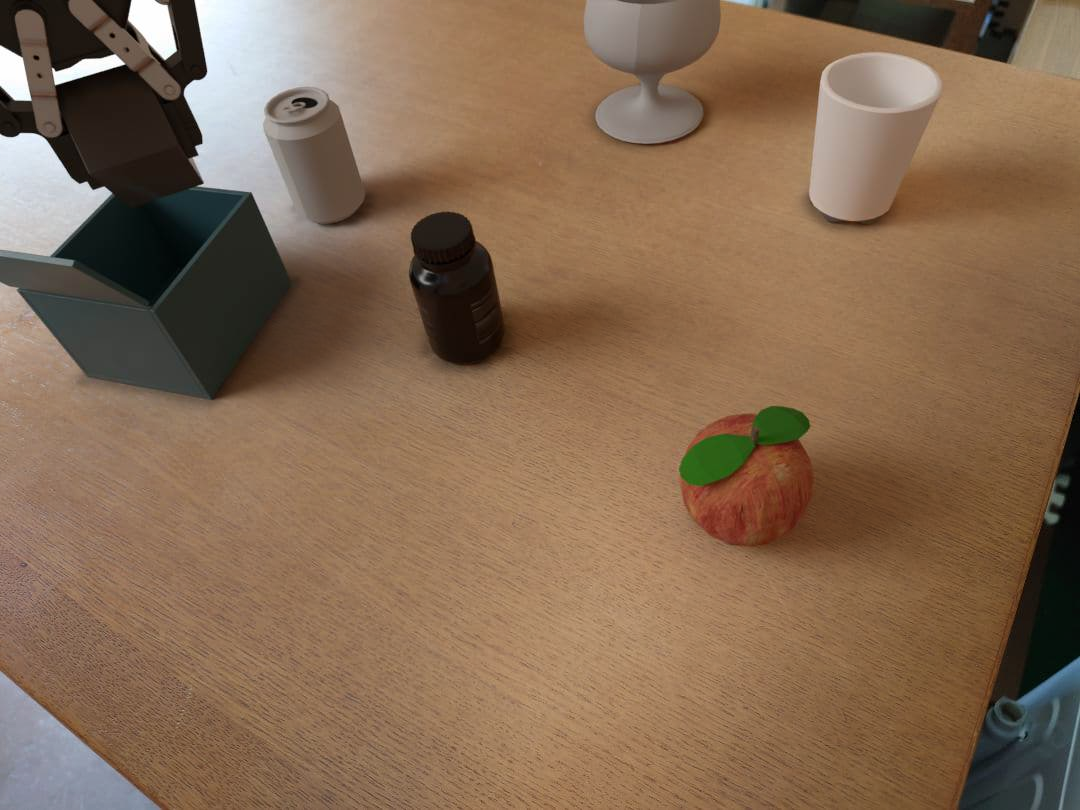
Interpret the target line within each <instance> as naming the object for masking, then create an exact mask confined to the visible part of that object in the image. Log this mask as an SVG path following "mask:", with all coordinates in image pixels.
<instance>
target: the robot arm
mask: <svg viewBox="0 0 1080 810" xmlns="http://www.w3.org/2000/svg"><path fill="white" fill-rule="evenodd" d="M154 1H155V2H156V3H157V4H159V5H162V6H167V11H168V16H169V20H170V26H171V30H172V36H173V40H174V45H175V49H176V50H175V52H173V53H172V54H171V55H170V56H168V57H167V58H166V59H165V58H164V57H163V56H162V55H161V54H160V53H159V52H158V51H157V50H156V49H155V48H154V47H153V46H152V45H151V44H150V43H149V41H148V40H147V39H146V38H145V36H144V35H143V34H142V33H141V32H140V31H139V29H138V28H137V27H135V25H134V24H133V23H132V22H131V21H130V20H129V17H130V12H131V6H132V2H133V1H132V0H0V47H2V48H4V49H5V50H7V51H9V52H11V53H13V54H14V55H17V56H18V57H20V58H21V59H22V61H23V67H24V71H25V77H26V81H27V87H28V91H29V96H30V100H24V99H23V100H20V99H19V100H17V99H14V98H13V97H12V96H11V95H10V94H9V93H8V92H7V91H6V90H5V88H3V87H2V86H1V85H0V135H1V136H3V137H6V138H16V137H19V135H20V134H34V135H38V136H40V137H42V138H43V139H44V140H45V141H46V142H47V143H48V145H49V146H50V148H51V149H52V151H53V152H54V154H55V155H56V158H58V160H59V161H60V163H61V165H62V167H64V169H65V170H66V172H67V174H68V176H69V177H70V178H71V179H72V180H73V181H74V182H76V183H77V184H79V185H81V184H84V183H87V184H88V186H89V187H90V188H91V190H92V191H96V190H98V189H102V188H105V187H104V186H103V185H102V184H101V183H100V182H98V181H97V180H96V179H95V178H94V177H92V176H91V175H90V174H89V173H88V171H87V169H86V166H85V164H84V162H83V160H82V158H81V156H80V154H79V152H78V150H77V147H76V145H75V143H74V141H73V139H72V137H71V135H70V133H69V131H68V128H67V126H66V124H65V122H64V120H63V118H62V116H61V114H60V111H59V105H58V99H57V93H56V88H55V85H56V83H55V78H54V72H55V73H57V72H60V71H64V70H68V69H70V68H72V67H74V66H75V65H78V63H80V62H82V61H83V60H98V59H99V60H101V59H104V58H105V59H106V58H107V57H111V56H115V55H116V57H117V58H118V59H119V60H120V61H122V63H123V64H126V65H127V66H128V67H129V68H130V69H131V70H132V71H133V72H135V73H137V74H139V75H140V76H141V77H142V78H143V79H144V80H145V81H146V82H147V83H148V84H149V85H150V86H151V87H152V88H153V89H154V90H155V91H156V92H157V95H158V98H159V101H160V103H161V106H162V108H163V110H164V112H165V114H166V116H167V118H168V120H169V122H170V124H171V126H172V128H173V130H174V132H175V134H176V136H177V138H178V140H179V142H180V144H181V146H182V148H183V150H184V152H185V154H186V156H187V157H188V159H190V158H193V159H194V158H196V157H199V152H198V150H197V146H201V145H203V140H204V139H203V134H202V131H201V129H200V126H199V124H198V121H197V119H196V117H195V116H194V113H193V111H192V109H191V107H190V105H189V103H188V101H187V98H186V96H185V90H186V88H187V87H188V86H189V85H190V84H191V83H192V82H193V81H201V80H203V79H205V77H207V74H208V66H207V61H206V55H205V49H204V44H203V38H202V33H201V28H200V21H199V16H198V9H197V5H196V0H154ZM53 70H54V71H53Z"/></svg>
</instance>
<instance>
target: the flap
mask: <svg viewBox="0 0 1080 810" xmlns="http://www.w3.org/2000/svg"><path fill="white" fill-rule="evenodd" d="M0 283H1V284H3V285H5V286H8V287H11V288H16V289H18V288H23V289H29V290H36V291H42V292H49V293H55V294H62V295H68V296H75V297H81V298H88V299H94V300H101V301H107V302H114V303H120V304H127V305H133V306H140V307H146V308H148V305H149V301H147V300H145V299H144V298H142V297H140V296H138V295H137V294H135V293H133V292H131V291H129V290H128V289H126V288H124V287H122V286H120V285H119V284H117V283H115V282H113V281H111V280H110V279H108V278H106V277H104V276H102V275H101V274H99V273H97V272H95V271H94V270H92V269H90V268H88V267H86V266H85V265H83V264H81V263H79V262H77V261H76V260H70V259H63V258H56V257H50V255H49V256H48V255H42V254H33V253H27V252H20V251H12V250H5V249H0Z"/></svg>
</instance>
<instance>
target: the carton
mask: <svg viewBox="0 0 1080 810" xmlns="http://www.w3.org/2000/svg"><path fill="white" fill-rule="evenodd" d="M256 201H257V200H256V199H255V197H254V194H253V192H252V191H243V190H234V189H225V188H215V187H207V186H196V187H193V188H190V189H187V190H184V191H181V192H178V193H175V194H172V195H169V196H166V197H164V198H161V199H158V200H155V201H152V202H149V203H146V204H143V205H140V206H137V207H134V208H129V207H128V206H127V205H126V204H125V203H123V202H122V201H121V200H120V199H119V198H117V197H116V196H115V195H114V194H113V193H111V194H110V195H109V196H108V197H107V198H106V199H105V200H104V201H103V202H102V203H101V204H100V205H99V206H98V207H97V208H95V210H94V211H93V212H92V213H91V214H90V215H89V216H88V217H87V218H86V219H85V220H84V221H83V222H82V223H81V224H80V225H79V227H77V228H76V229H75V230H74V231H73V232H72V234H71V235H69V236H68V237H67V238H66V240H65V241H64V242H63V243H61V244H60V246H58V248H57V249H55V250H54V252H53V253H52V254H50V255H49V257H56V258H63V259H70V260H76V261H77V262H79V263H81V264H83V265H85V266H86V267H88V268H90V269H92V270H94V271H95V272H97V273H99V274H101V275H102V276H104V277H106V278H108V279H110V280H111V281H113V282H115V283H117V284H119V285H120V286H122V287H124V288H126V289H128V290H129V291H131V292H133V293H135V294H137V295H138V296H140V297H142V298H144V299H145V300H147V301H149V305H148V308H146V307H140V306H133V305H127V304H120V303H114V302H107V301H101V300H94V299H88V298H81V297H75V296H68V295H62V294H55V293H49V292H42V291H36V290H29V289H23V288H16V292H17V293H18V294H19V296H20V297H21V298H22V300H24V301H25V303H26V304H27V306H29V307H30V309H31V310H32V311H33V312H34V314H35V315H36V316H37V317H38V318H39V320H40V321H41V322H42V324H43V325H44V326H45V327H46V329H47V330H48V331H49V332H50V333H51V334H52V336H53V337H54V339H56V341H57V342H58V343H59V344H60V346H61V347H62V348H63V349H64V350H65V352H66V353H67V354H68V355H69V356H70V358H71V359H72V360H73V362H74V363H75V364H76V365H77V366H78V368H79V369H80V370H81V371H82V372H83V373H84V375H85V376H86V377H87V378H92V379H96V380H102V381H107V382H114V383H118V384H119V383H120V384H124V385H130V386H134V387H141V388H145V389H151V390H155V391H161V392H167V393H173V394H179V395H184V396H188V397H189V396H190V397H195V398H201V399H206V400H213V398H214V397H215V396H216V394H217V393H218V392H219V390H220V388H221V387H222V386H223V384H224V382H225V381H226V380H227V378H228V377H229V375H230V374H231V372H232V371H233V369H234V368H235V366H236V365H237V363H239V361H240V359H241V358H242V357H243V355H244V353H245V352H246V351H247V349H248V348H249V347H250V345H251V343H252V341H253V340H254V339H255V337H256V336H257V334H258V333H259V332H260V330H261V329H262V327H263V325H264V324H265V323H266V321H267V320H268V318H269V317H270V316H271V314H272V312H273V311H274V310H275V308H276V307H277V306H278V304H279V303H280V301H281V299H282V298H283V297H284V295H285V293H286V292H287V291H288V289H289V288H290V287H291V285H292V280H291V278H290V275H289V273H288V271H287V269H286V267H285V265H284V262H283V260H282V258H281V256H280V253H279V251H278V249H277V247H276V244H275V242H274V239H273V236H272V235H271V233H270V230H269V228H268V226H267V224H266V221H265V219H264V217H263V215H262V213H261V210H260V208H259V206H258V204H257V202H256Z"/></svg>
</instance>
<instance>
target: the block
mask: <svg viewBox="0 0 1080 810" xmlns="http://www.w3.org/2000/svg"><path fill="white" fill-rule="evenodd" d="M55 88H56V93H57V99H58V105H59V111H60V114H61V116H62V118H63V120H64V122H65V124H66V126H67V128H68V131H69V133H70V135H71V137H72V139H73V141H74V143H75V145H76V147H77V150H78V152H79V154H80V156H81V158H82V160H83V162H84V164H85V166H86V169H87V171H88V173H89V174H90V175H91V176H92V177H94V178H95V179H96V180H97V181H98V182H100V183H101V184H102V185H103V186H104V187H103V188H105V189H107V190H108V191H109V192H110V193H111V194H112V193H113V194H114V195H115V196H116V197H117V198H119V199H120V200H121V201H122V202H123V203H125V204H126V205H127V206H128V207H129V208H134V207H137V206H140V205H143V204H146V203H149V202H152V201H155V200H158V199H161V198H164V197H166V196H169V195H172V194H175V193H178V192H181V191H184V190H187V189H190V188H193V187H196V186H198V187H200V186H202V185H204V184H205V182H204V180H203V177H202V175H201V173H200V170H199V168H198V166H197V164H196V162H195V160H194V157H193V158H190V159H188V157H187V156H186V154H185V152H184V150H183V148H182V146H181V144H180V142H179V140H178V138H177V136H176V134H175V132H174V130H173V128H172V126H171V124H170V122H169V120H168V118H167V116H166V114H165V112H164V110H163V108H162V106H161V103H160V101H159V98H158V95H157V92H156V91H155V90H154V89H153V88H152V87H151V86H150V85H149V84H148V83H147V82H146V81H145V80H144V79H143V78H142V77H141V76H140V75H139V74H137V73H135V72H133V71H132V70H131V69H130V68H129V67H128V66H127V65H126V64H125V63H123V64H121V65H118V66H115V67H111V68H107V69H105V70H101V71H98V72H95V73H91V74H87V75H84V76H81V77H79V78H78V77H77V78H75V79H71V80H67V81H64V82H60V83H58V84H55Z"/></svg>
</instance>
